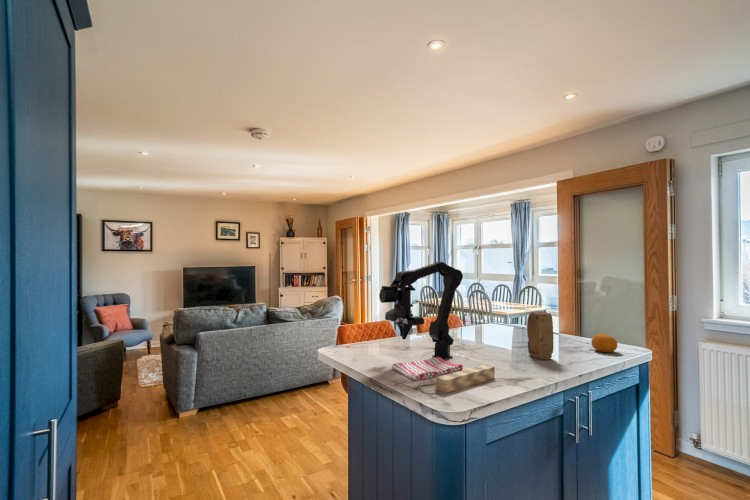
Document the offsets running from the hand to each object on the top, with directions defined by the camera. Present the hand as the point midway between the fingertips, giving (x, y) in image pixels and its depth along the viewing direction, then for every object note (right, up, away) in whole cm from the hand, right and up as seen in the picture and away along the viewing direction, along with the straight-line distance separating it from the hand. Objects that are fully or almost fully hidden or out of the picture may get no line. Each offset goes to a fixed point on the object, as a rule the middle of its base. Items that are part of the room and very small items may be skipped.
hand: (404, 339), depth 157 cm
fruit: (+96, -11, +20) cm, 99 cm away
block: (+60, -10, +9) cm, 62 cm away
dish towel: (+8, -10, -11) cm, 17 cm away
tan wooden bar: (+20, -9, -27) cm, 34 cm away
